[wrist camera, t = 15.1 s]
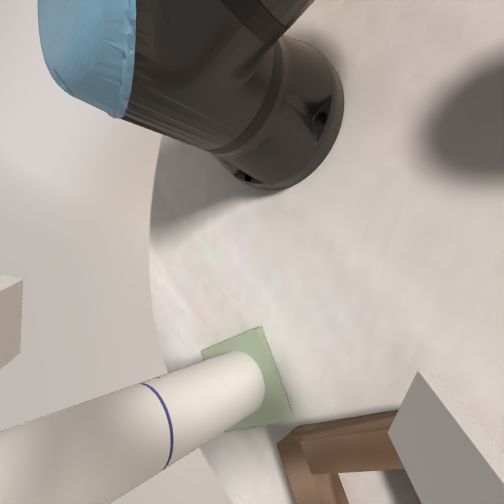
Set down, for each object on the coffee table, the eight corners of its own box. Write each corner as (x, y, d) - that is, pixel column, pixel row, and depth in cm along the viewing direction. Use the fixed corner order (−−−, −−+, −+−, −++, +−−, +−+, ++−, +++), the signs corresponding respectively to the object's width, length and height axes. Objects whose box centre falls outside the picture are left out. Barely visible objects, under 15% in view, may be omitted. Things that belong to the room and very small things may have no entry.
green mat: (206, 349, 41) (200, 351, 41) (261, 326, 36) (256, 327, 35) (229, 428, 39) (224, 432, 38) (293, 416, 33) (289, 420, 32)
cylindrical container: (263, 422, 34) (-46, 643, 14) (216, 402, 39) (-71, 551, 19) (265, 358, 34) (-40, 488, 15) (218, 345, 39) (-66, 432, 19)
